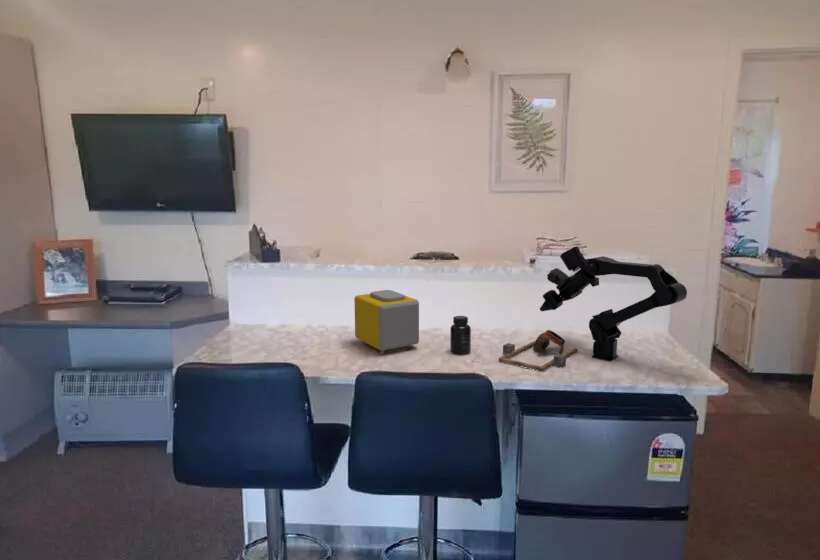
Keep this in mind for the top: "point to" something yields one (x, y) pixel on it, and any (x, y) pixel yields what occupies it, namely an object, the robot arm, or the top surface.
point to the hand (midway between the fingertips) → (547, 306)
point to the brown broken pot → (548, 341)
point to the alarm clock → (387, 319)
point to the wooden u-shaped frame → (510, 352)
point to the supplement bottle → (460, 336)
